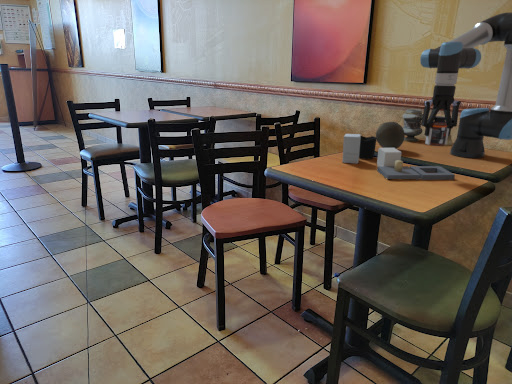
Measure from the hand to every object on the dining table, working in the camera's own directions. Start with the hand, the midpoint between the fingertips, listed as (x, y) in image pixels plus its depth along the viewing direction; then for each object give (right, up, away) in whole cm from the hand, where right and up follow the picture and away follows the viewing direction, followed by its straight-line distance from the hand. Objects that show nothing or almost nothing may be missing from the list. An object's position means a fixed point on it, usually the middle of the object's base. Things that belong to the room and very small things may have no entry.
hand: (435, 143), depth 151 cm
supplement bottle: (0, -1, 0) cm, 1 cm away
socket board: (0, -12, +4) cm, 13 cm away
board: (-14, -13, +4) cm, 19 cm away
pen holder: (-19, -2, +34) cm, 39 cm away
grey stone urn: (+20, +11, +72) cm, 76 cm away
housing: (-14, -9, +16) cm, 23 cm away
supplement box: (-28, -5, +26) cm, 39 cm away
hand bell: (+36, +8, +62) cm, 72 cm away
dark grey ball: (-2, +3, +48) cm, 48 cm away
